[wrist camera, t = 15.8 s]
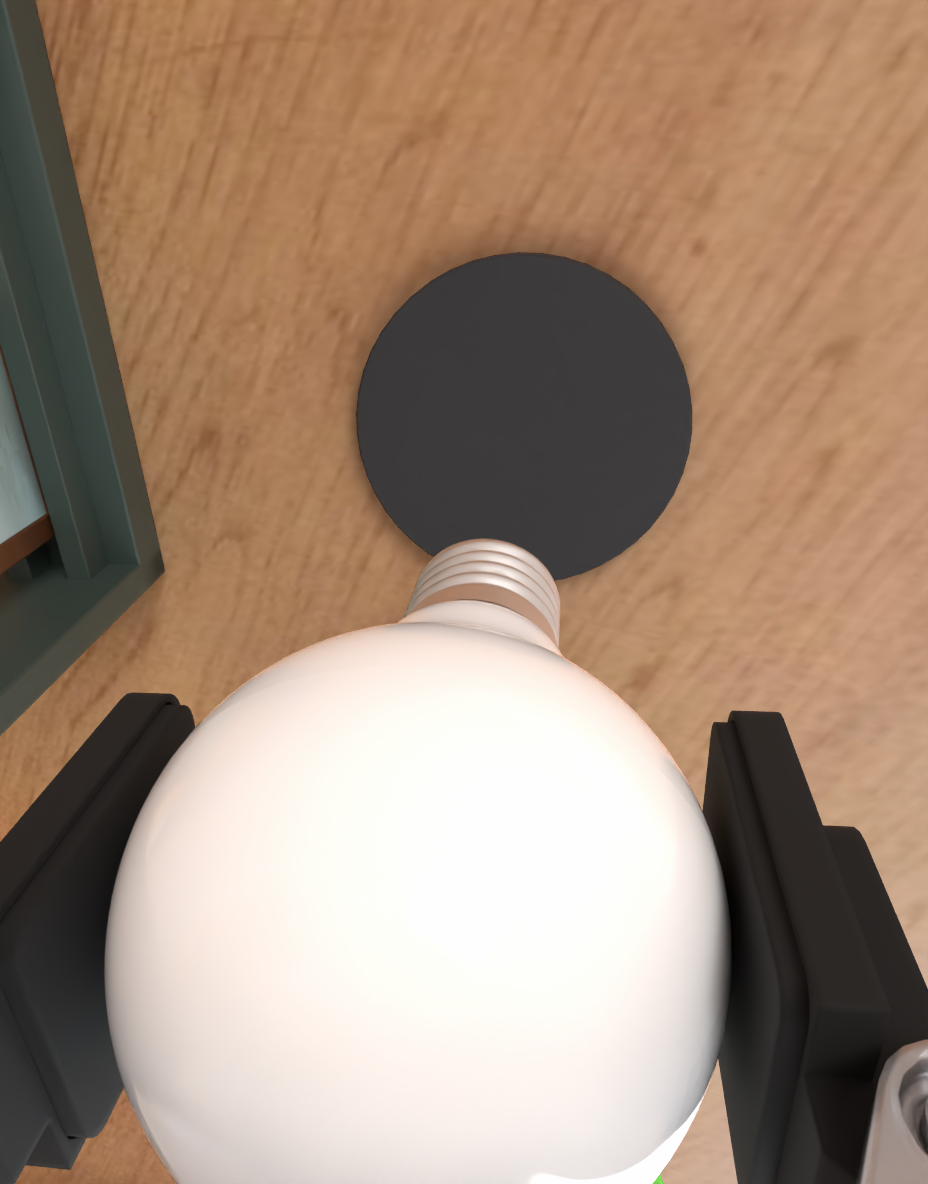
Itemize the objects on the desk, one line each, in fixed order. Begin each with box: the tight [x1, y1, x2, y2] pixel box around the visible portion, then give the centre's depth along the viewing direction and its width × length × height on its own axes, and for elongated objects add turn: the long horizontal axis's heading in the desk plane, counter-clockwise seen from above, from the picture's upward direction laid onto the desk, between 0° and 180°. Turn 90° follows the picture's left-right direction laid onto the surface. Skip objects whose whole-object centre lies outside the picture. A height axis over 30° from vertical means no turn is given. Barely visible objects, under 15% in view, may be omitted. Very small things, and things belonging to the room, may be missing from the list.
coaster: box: [356, 252, 692, 580], centre depth 25 cm, size 10×10×1 cm
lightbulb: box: [104, 539, 733, 1184], centre depth 11 cm, size 6×6×11 cm
